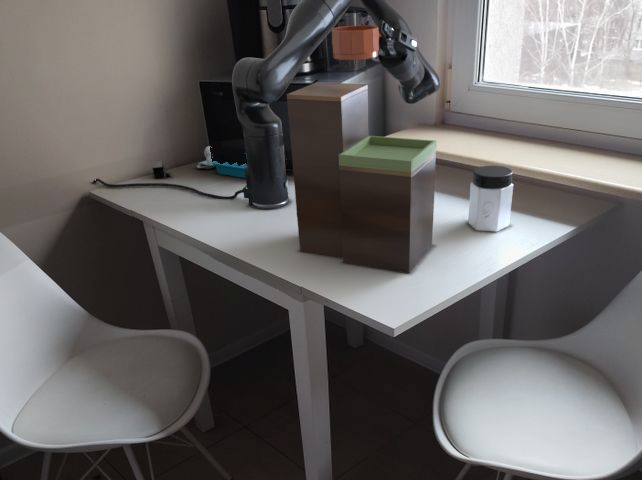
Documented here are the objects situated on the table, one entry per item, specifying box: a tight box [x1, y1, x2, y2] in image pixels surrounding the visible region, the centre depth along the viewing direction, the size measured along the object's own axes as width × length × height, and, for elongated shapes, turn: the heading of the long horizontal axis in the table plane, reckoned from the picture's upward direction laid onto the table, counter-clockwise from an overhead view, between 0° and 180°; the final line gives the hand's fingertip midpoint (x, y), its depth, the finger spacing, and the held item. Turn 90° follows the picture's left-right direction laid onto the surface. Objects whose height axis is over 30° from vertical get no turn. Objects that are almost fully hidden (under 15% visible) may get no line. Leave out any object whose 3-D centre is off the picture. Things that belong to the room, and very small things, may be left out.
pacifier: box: [196, 145, 216, 170], centre depth 183 cm, size 7×6×6 cm
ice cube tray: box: [212, 161, 247, 179], centre depth 178 cm, size 12×20×3 cm, turn 58°
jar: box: [467, 165, 514, 232], centre depth 134 cm, size 9×8×12 cm
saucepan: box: [330, 24, 382, 61], centre depth 125 cm, size 18×9×5 cm, turn 154°
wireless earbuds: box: [152, 160, 172, 179], centre depth 179 cm, size 5×7×3 cm, turn 13°
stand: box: [286, 81, 437, 274], centre depth 120 cm, size 14×25×31 cm, turn 64°
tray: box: [339, 135, 437, 172], centre depth 116 cm, size 14×14×2 cm
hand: (373, 25), depth 127 cm, fingers closed on saucepan, 2 cm apart
